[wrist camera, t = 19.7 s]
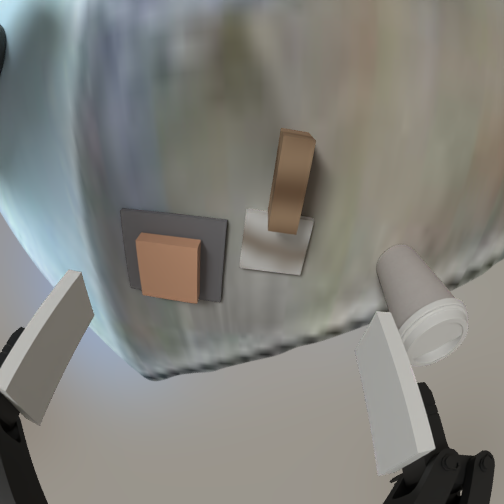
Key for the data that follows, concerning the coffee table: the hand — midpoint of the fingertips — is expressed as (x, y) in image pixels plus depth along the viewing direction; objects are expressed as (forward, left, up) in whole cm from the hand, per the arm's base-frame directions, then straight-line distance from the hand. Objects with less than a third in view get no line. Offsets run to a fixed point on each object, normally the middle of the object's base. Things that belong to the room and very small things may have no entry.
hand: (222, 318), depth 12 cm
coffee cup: (+10, +22, -23) cm, 33 cm away
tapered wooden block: (+5, +4, -23) cm, 24 cm away
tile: (+10, -9, -21) cm, 25 cm away
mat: (+14, -9, -23) cm, 28 cm away
